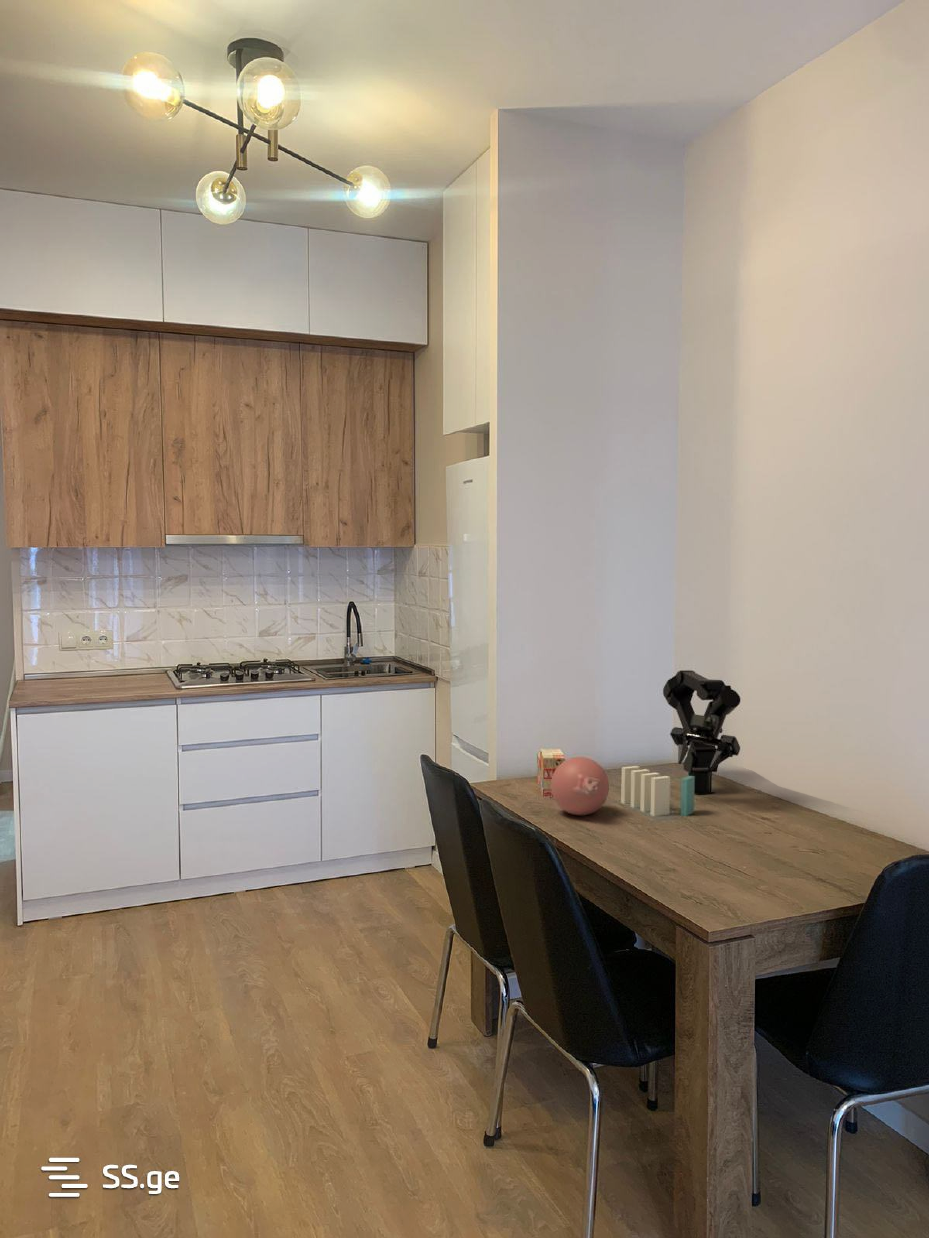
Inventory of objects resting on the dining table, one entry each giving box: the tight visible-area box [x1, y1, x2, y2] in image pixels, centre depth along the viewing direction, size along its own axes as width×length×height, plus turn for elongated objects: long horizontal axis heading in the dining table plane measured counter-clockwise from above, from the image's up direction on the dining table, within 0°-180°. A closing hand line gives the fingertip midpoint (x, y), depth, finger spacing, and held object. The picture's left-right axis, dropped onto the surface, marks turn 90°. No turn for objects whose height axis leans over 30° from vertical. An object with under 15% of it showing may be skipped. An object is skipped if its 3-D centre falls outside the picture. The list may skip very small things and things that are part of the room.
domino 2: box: [631, 768, 651, 808], centre depth 256 cm, size 2×5×10 cm, turn 116°
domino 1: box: [620, 765, 641, 804], centre depth 260 cm, size 2×5×10 cm, turn 116°
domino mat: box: [608, 800, 682, 821], centre depth 256 cm, size 8×27×1 cm, turn 25°
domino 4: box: [650, 775, 671, 816], centre depth 248 cm, size 2×5×10 cm, turn 116°
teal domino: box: [680, 775, 695, 817], centre depth 249 cm, size 2×5×10 cm, turn 143°
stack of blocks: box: [536, 748, 566, 797], centre depth 274 cm, size 21×6×12 cm, turn 0°
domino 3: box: [640, 772, 661, 812], centre depth 252 cm, size 2×5×10 cm, turn 115°
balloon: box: [551, 756, 610, 816], centre depth 246 cm, size 15×20×15 cm
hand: (694, 766), depth 254 cm, fingers open, 9 cm apart
